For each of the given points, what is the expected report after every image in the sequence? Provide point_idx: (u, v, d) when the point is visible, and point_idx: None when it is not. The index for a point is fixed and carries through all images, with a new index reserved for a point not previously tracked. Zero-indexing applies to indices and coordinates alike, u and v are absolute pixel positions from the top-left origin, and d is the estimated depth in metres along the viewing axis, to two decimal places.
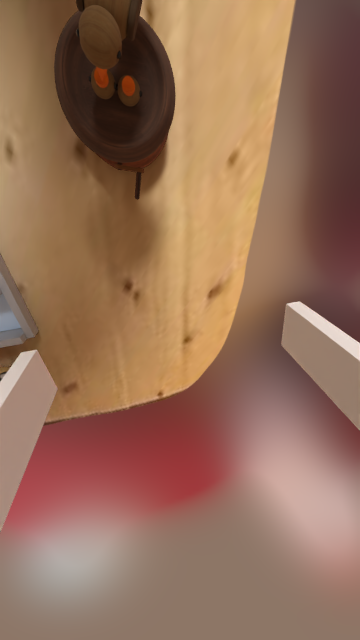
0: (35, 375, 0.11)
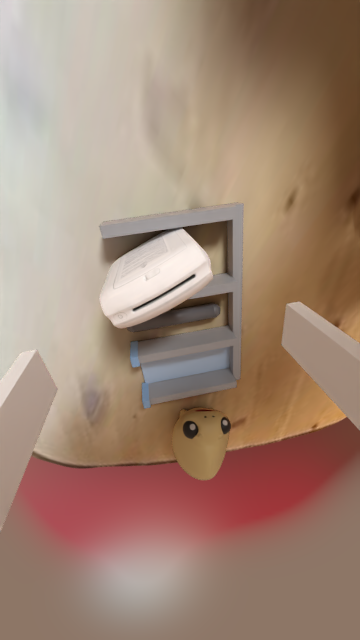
0: (35, 375, 0.11)
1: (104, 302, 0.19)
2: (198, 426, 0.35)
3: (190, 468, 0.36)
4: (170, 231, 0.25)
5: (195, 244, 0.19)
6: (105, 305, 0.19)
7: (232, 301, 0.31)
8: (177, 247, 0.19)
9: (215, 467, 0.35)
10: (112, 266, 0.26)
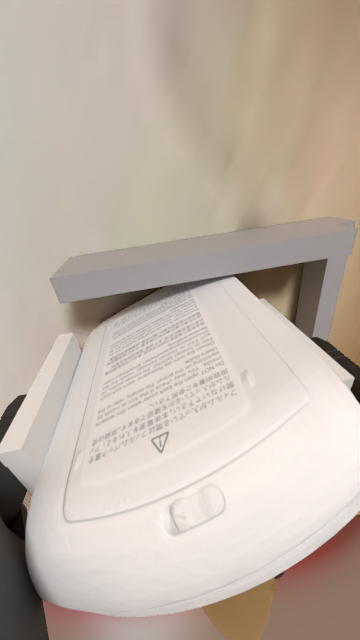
0: (73, 355, 0.12)
1: (34, 558, 0.06)
2: None
3: (221, 626, 0.23)
4: (206, 280, 0.12)
5: (337, 382, 0.05)
6: (35, 569, 0.06)
7: None
8: (271, 383, 0.06)
9: (262, 632, 0.22)
10: (87, 348, 0.13)
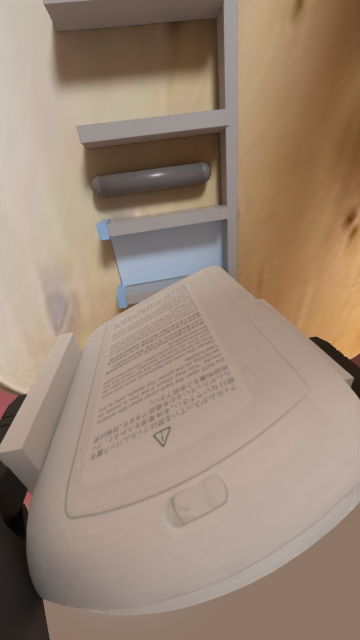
0: (73, 355, 0.12)
1: (35, 556, 0.06)
2: None
3: None
4: (205, 281, 0.12)
5: (334, 375, 0.06)
6: (37, 567, 0.06)
7: (225, 156, 0.25)
8: (270, 377, 0.06)
9: None
10: (87, 350, 0.13)
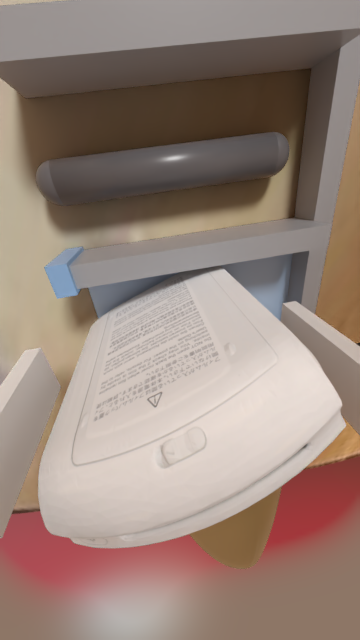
0: (39, 373, 0.11)
1: (46, 498, 0.07)
2: None
3: (207, 540, 0.16)
4: (200, 274, 0.13)
5: (301, 348, 0.07)
6: (47, 507, 0.07)
7: (325, 117, 0.12)
8: (248, 350, 0.07)
9: (265, 543, 0.15)
10: (91, 336, 0.14)
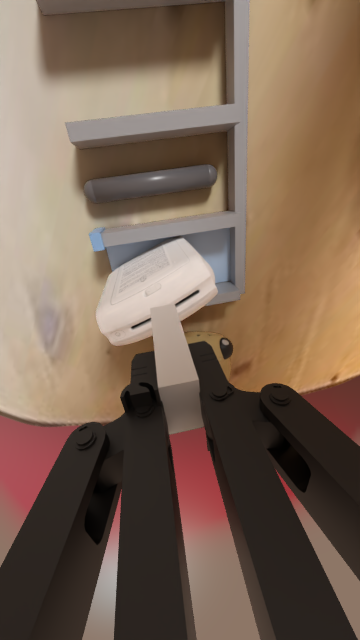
0: None
1: (100, 319, 0.18)
2: None
3: None
4: (171, 241, 0.24)
5: (199, 257, 0.17)
6: (101, 322, 0.18)
7: (233, 157, 0.22)
8: (180, 260, 0.18)
9: None
10: (110, 277, 0.25)
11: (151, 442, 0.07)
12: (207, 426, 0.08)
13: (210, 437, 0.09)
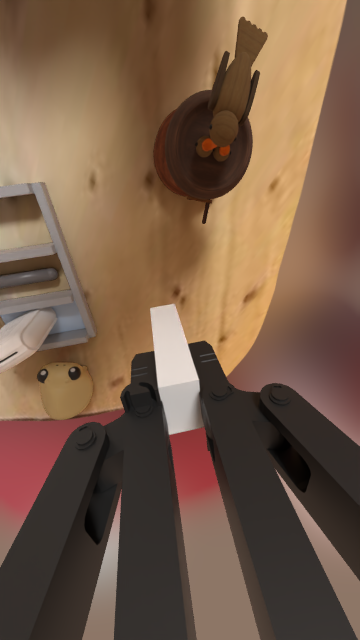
0: None
1: None
2: (48, 372, 0.42)
3: (47, 409, 0.43)
4: (32, 311, 0.40)
5: (19, 334, 0.34)
6: None
7: (62, 265, 0.38)
8: (11, 334, 0.34)
9: (64, 407, 0.42)
10: None
11: (151, 442, 0.07)
12: (207, 426, 0.08)
13: (210, 436, 0.09)
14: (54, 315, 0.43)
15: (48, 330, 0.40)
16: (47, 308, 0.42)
